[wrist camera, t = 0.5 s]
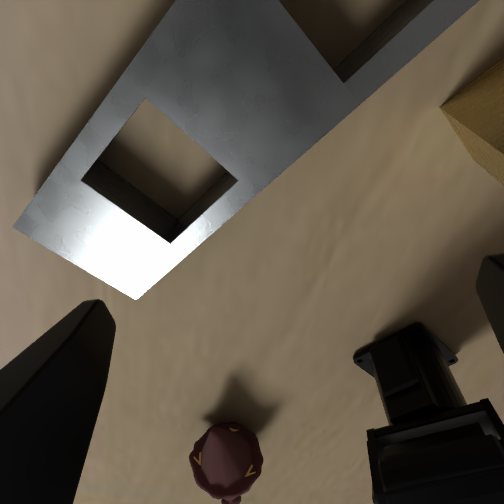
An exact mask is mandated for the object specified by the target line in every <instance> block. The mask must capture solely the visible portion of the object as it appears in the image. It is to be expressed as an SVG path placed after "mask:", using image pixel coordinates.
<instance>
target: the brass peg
mask: <svg viewBox="0 0 504 504" xmlns="http://www.w3.org/2000/svg"><path fill="white" fill-rule="evenodd" d="M440 109H441V111H442V112H443V114H444V115H445V117H446V118H447V120H448V121H449V123H450V124H451V126H452V127H453V129H454V131H455V132H456V134H457V135H458V137H459V138H460V140H461V141H462V143H463V144H464V146H465V147H466V149H467V150H468V152H469V154H470V155H471V157H472V158H473V160H474V161H475V162H476V163H478V164H479V165H480V166H481V167H482V168H483V169H485V170H486V171H487V172H488V173H489V174H490V175H492V176H493V177H494V178H495V179H496V180H497V181H499V182H500V183H501V184H502V185H503V186H504V58H502V59H501V60H500V61H498V62H497V63H496V64H495V65H493V66H492V67H491V68H490V69H488V70H487V71H486V72H484V73H483V74H482V75H481V76H479V77H478V78H477V79H475V80H474V81H473V82H472V83H470V84H469V85H468V86H466V87H465V88H464V89H463V90H461V91H460V92H459V93H457V94H456V95H455V96H454V97H452V98H451V99H450V100H449V101H447V102H446V103H445V104H443V105H442V106H441V107H440Z"/></svg>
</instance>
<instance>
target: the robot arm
mask: <svg viewBox="0 0 504 504" xmlns="http://www.w3.org/2000/svg"><path fill="white" fill-rule="evenodd" d="M476 291H477V294H478V296H479V298H480V301H481V303H482V305H483V308H484V310H485V312H486V315H487V317H488V319H489V322H490V324H491V326H492V329H493V331H494V333H495V336H496V338H497V340H498V343H499V345H500V347H501V349H502V351H503V353H504V253H501V254H492V255H487V256H485V257H484V258H483V260H482V263H481V266H480V270H479V273H478V277H477V280H476ZM115 332H116V325H115V321H114V319H113V317H112V315H111V314H110V312H109V310H108V308H107V307H106V305H105V303H104V302H103V301H102V300H100V299H95V300H87V301H84V302H82V303H81V304H80V305H78V306H77V307H76V308H75V309H73V310H72V311H71V312H70V313H69V314H67V315H66V316H65V317H64V318H63V319H61V320H60V321H59V322H58V323H57V324H55V325H54V326H53V327H52V328H50V329H49V330H48V331H47V332H46V333H44V334H43V335H42V336H41V337H40V338H38V339H37V340H36V341H35V342H33V343H32V344H31V345H30V346H29V347H27V348H26V349H25V350H24V351H23V352H21V353H20V354H19V355H18V356H17V357H15V358H14V359H13V360H12V361H10V362H9V363H8V364H7V365H6V366H4V367H3V368H2V369H1V370H0V504H73V501H74V498H75V494H76V491H77V487H78V484H79V480H80V477H81V473H82V470H83V466H84V463H85V459H86V456H87V452H88V449H89V445H90V441H91V438H92V434H93V431H94V427H95V424H96V420H97V417H98V413H99V410H100V406H101V403H102V399H103V396H104V392H105V388H106V383H107V378H108V373H109V367H110V361H111V355H112V349H113V343H114V337H115ZM353 360H354V363H355V364H356V365H358V366H359V367H360V368H362V369H363V370H365V371H366V372H367V373H369V374H370V375H371V376H373V377H374V378H375V380H376V383H377V386H378V390H379V393H380V396H381V400H382V403H383V406H384V410H385V413H386V416H387V420H388V423H389V426H385V427H381V428H378V429H374V428H372V429H369V430H367V438H368V441H367V448H368V455H369V463H370V470H371V477H372V499H373V503H374V504H504V424H503V423H502V421H501V419H500V418H499V416H498V414H497V413H496V411H495V409H494V407H493V406H492V404H491V402H490V401H489V399H488V398H486V399H482V400H480V402H476V403H472V404H469V405H467V403H466V401H465V399H464V397H463V395H462V393H461V391H460V389H459V387H458V385H457V383H456V381H455V379H454V377H453V375H452V373H451V371H450V369H449V367H448V366H450V365H453V364H455V363H456V362H457V361H458V359H457V357H456V355H455V354H454V353H453V352H452V351H451V350H450V349H449V348H448V347H447V346H446V345H445V344H444V343H443V342H442V341H441V340H440V339H438V338H437V337H436V336H435V335H434V334H433V333H432V332H431V331H430V330H429V329H428V328H427V327H426V326H425V325H424V324H422V323H415V324H413V325H411V326H409V327H407V328H405V329H403V330H402V331H400V332H398V333H396V334H394V335H392V336H390V337H388V338H386V339H384V340H382V341H380V342H378V343H376V344H375V345H373V346H371V347H369V348H367V349H365V350H363V351H361V352H359V353H357V354H355V355H354V356H353Z"/></svg>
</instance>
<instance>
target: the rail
mask: <svg viewBox="0 0 504 504" xmlns="http://www.w3.org/2000/svg"><path fill="white" fill-rule="evenodd" d="M478 1H479V0H406V1H405V2H404V3H403V4H402V5H401V6H400V7H399V8H398V9H397V10H396V11H395V12H394V13H393V14H392V15H391V16H390V17H389V18H388V19H387V20H385V21H384V22H383V23H382V24H381V25H380V26H379V27H378V28H377V29H376V30H375V31H374V32H373V33H372V34H371V35H370V36H369V37H368V38H367V39H366V40H365V41H364V42H363V43H361V44H360V45H359V46H358V47H357V48H356V49H355V50H354V51H353V52H352V53H351V54H350V55H349V56H348V57H347V58H346V59H345V60H344V61H343V62H342V63H341V64H340V65H339V66H337V67H336V68H335V69H334V70H333V69H332V68H331V67H330V66H329V64H328V63H327V62H326V60H325V59H324V58H323V57H322V55H321V54H320V53H319V51H318V50H317V49H316V48H315V46H314V45H313V44H312V42H311V41H310V40H309V39H308V37H307V36H306V35H305V33H304V32H303V31H302V30H301V28H300V27H299V26H298V24H297V23H296V22H295V21H294V19H293V18H292V17H291V15H290V14H289V13H288V12H287V10H286V9H285V8H284V6H283V5H282V4H281V3H280V1H279V0H175V2H174V3H173V5H172V6H171V7H170V9H169V10H168V12H167V13H166V14H165V16H164V17H163V19H162V20H161V21H160V23H159V24H158V25H157V27H156V28H155V30H154V31H153V32H152V34H151V35H150V37H149V38H148V39H147V41H146V42H145V44H144V45H143V46H142V48H141V49H140V50H139V52H138V53H137V55H136V56H135V57H134V59H133V60H132V62H131V63H130V64H129V66H128V67H127V69H126V70H125V71H124V73H123V74H122V75H121V77H120V78H119V80H118V81H117V82H116V84H115V85H114V87H113V88H112V89H111V91H110V92H109V94H108V95H107V96H106V98H105V99H104V100H103V102H102V103H101V105H100V106H99V107H98V109H97V110H96V112H95V113H94V114H93V116H92V117H91V119H90V120H89V121H88V123H87V124H86V125H85V127H84V128H83V130H82V131H81V132H80V134H79V135H78V137H77V138H76V139H75V141H74V142H73V144H72V145H71V146H70V148H69V149H68V150H67V152H66V153H65V155H64V156H63V157H62V159H61V160H60V162H59V163H58V164H57V166H56V167H55V169H54V170H53V171H52V173H51V174H50V175H49V177H48V178H47V180H46V181H45V182H44V184H43V185H42V187H41V188H40V189H39V191H38V192H37V194H36V195H35V196H34V198H33V199H32V201H31V202H30V203H29V205H28V206H27V207H26V209H25V210H24V212H23V213H22V214H21V216H20V217H19V219H18V220H17V221H16V223H15V224H14V226H13V228H15V229H16V230H18V231H20V232H21V233H23V234H25V235H27V236H28V237H30V238H32V239H33V240H35V241H37V242H38V243H40V244H42V245H43V246H45V247H47V248H49V249H50V250H52V251H54V252H55V253H57V254H59V255H60V256H62V257H64V258H65V259H67V260H69V261H71V262H72V263H74V264H76V265H77V266H79V267H81V268H82V269H84V270H86V271H87V272H89V273H91V274H93V275H94V276H96V277H98V278H99V279H101V280H103V281H104V282H106V283H108V284H109V285H111V286H113V287H115V288H116V289H118V290H120V291H121V292H123V293H125V294H126V295H128V296H130V297H131V298H133V299H135V300H137V299H138V298H139V297H140V296H141V295H142V294H144V293H145V292H146V291H147V290H148V289H149V288H150V287H152V286H153V285H154V284H155V283H156V282H157V281H158V280H160V279H161V278H162V277H163V276H164V275H165V274H166V273H168V272H169V271H170V270H171V269H172V268H173V267H174V266H176V265H177V264H178V263H179V262H180V261H181V260H183V259H184V258H185V257H186V256H187V255H188V254H189V253H191V252H192V251H193V250H194V249H195V248H196V247H197V246H199V245H200V244H201V243H202V242H203V241H204V240H205V239H207V238H208V237H209V236H210V235H211V234H212V233H213V232H215V231H216V230H217V229H218V228H219V227H220V226H221V225H223V224H224V223H225V222H226V221H227V220H228V219H229V218H231V217H232V216H233V215H234V214H235V213H236V212H237V211H239V210H240V209H241V208H242V207H243V206H244V205H246V204H247V203H248V202H249V201H250V200H251V199H252V198H254V197H255V196H256V195H257V194H258V193H259V192H260V191H262V190H263V189H264V188H265V187H266V186H267V185H268V184H270V183H271V182H272V181H273V180H274V179H275V178H276V177H278V176H279V175H280V174H281V173H282V172H283V171H284V170H286V169H287V168H288V167H289V166H290V165H291V164H292V163H294V162H295V161H296V160H297V159H298V158H299V157H300V156H302V155H303V154H304V153H305V152H306V151H307V150H309V149H310V148H311V147H312V146H313V145H314V144H315V143H317V142H318V141H319V140H320V139H321V138H322V137H323V136H325V135H326V134H327V133H328V132H329V131H330V130H331V129H333V128H334V127H335V126H336V125H337V124H338V123H339V122H341V121H342V120H343V119H344V118H345V117H346V116H347V115H349V114H350V113H351V112H352V111H353V110H354V109H355V108H357V107H358V106H359V105H360V104H361V103H362V102H363V101H365V100H366V99H367V98H368V97H369V96H370V95H372V94H373V93H374V92H375V91H376V90H377V89H378V88H380V87H381V86H382V85H383V84H384V83H385V82H386V81H388V80H389V79H390V78H391V77H392V76H393V75H394V74H396V73H397V72H398V71H399V70H400V69H401V68H402V67H404V66H405V65H406V64H407V63H408V62H409V61H410V60H412V59H413V58H414V57H415V56H416V55H417V54H418V53H420V52H421V51H422V50H423V49H424V48H425V47H426V46H428V45H429V44H430V43H431V42H432V41H433V40H435V39H436V38H437V37H438V36H439V35H440V34H441V33H443V32H444V31H445V30H446V29H447V28H448V27H449V26H451V25H452V24H453V23H454V22H455V21H456V20H457V19H459V18H460V17H461V16H462V15H463V14H464V13H465V12H467V11H468V10H469V9H470V8H471V7H472V6H473V5H475V4H476V3H477V2H478ZM145 98H147V99H148V100H149V101H150V102H151V103H152V104H154V105H155V106H156V107H157V108H158V109H159V110H160V111H161V112H162V113H164V114H165V115H166V116H167V117H168V118H169V119H170V120H171V121H173V122H174V123H175V124H176V125H177V126H178V127H179V128H180V129H182V130H183V131H184V132H185V133H186V134H187V135H188V136H189V137H190V138H192V139H193V140H194V141H195V142H196V143H197V144H198V145H199V146H201V147H202V148H203V149H204V150H205V151H206V152H207V153H208V154H209V155H211V156H212V157H213V158H214V159H215V160H216V161H217V162H218V163H220V164H221V165H222V166H223V167H224V168H225V169H226V170H227V171H228V172H227V173H226V174H225V175H224V176H223V177H222V178H221V179H220V180H219V181H217V182H216V183H215V184H214V185H213V186H212V187H211V188H210V189H209V190H208V191H207V192H206V193H205V194H204V195H203V196H202V197H201V198H200V199H199V200H198V201H197V202H196V203H195V204H193V205H192V206H191V207H190V208H189V209H188V210H187V211H186V212H185V213H184V214H183V215H182V216H181V217H180V218H179V219H178V220H177V219H176V218H174V217H173V216H172V215H170V214H169V213H168V212H166V211H165V210H164V209H162V208H161V207H160V206H158V205H157V204H156V203H154V202H153V201H152V200H150V199H149V198H148V197H146V196H145V195H144V194H142V193H141V192H140V191H138V190H137V189H136V188H134V187H133V186H132V185H130V184H129V183H128V182H126V181H125V180H124V179H122V178H121V177H120V176H118V175H117V174H116V173H114V172H113V171H112V170H110V169H109V168H108V167H106V166H105V165H104V164H102V163H101V162H100V161H98V160H97V159H98V158H99V156H100V155H101V154H102V153H103V151H104V150H105V149H106V147H107V146H108V145H109V144H110V142H111V141H112V140H113V139H114V137H115V136H116V135H117V133H118V132H119V131H120V130H121V128H122V127H123V126H124V125H125V123H126V122H127V121H128V119H129V118H130V117H131V116H132V114H133V113H134V112H135V110H136V109H137V108H138V107H139V105H140V104H141V103H142V102H143V100H144V99H145Z"/></svg>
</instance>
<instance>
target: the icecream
mask: <svg viewBox="0 0 504 504" xmlns="http://www.w3.org/2000/svg"><path fill="white" fill-rule="evenodd" d="M189 461H190V464H191V467H192V470H193V473H194V478H195V481H196V484H197V485H198V486H199V487H200V488H201V489H203V490H204V491H206V492H207V493H209V494H210V495H211V496H212V498H216V499H222V501H221V503H222V504H239V503H240V501H241V495H242V494H244V493H246V492H248V491H249V490H250V488H251V486H252V484H253V483H254V482H255V480H256V479H257V478H258V477H259V476H260V474H261V467H262V464H263V456H262V454H261V451H260V447H259V442H258V439H257V437H256V435H255V434H254V433H253V432H251V431H249V430H248V429H246V428H244V427H242V426H241V425H239V424H238V423H236V422H235V423H228V424H217V425H213V426H212V427H210V428H209V429H208V430H207V431H206V433H205V434H204V435H203V436H202V437H201V438H200V439H199V440H198V441H196V442H195V444H194V450H193V451H192V452H191V453H190V455H189Z"/></svg>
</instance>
